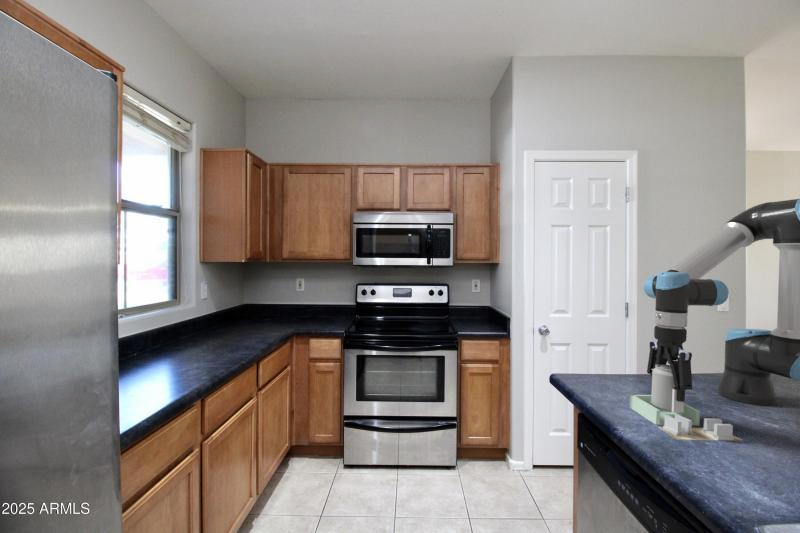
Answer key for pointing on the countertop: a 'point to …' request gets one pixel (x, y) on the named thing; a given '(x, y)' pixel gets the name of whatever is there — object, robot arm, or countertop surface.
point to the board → (696, 435)
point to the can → (662, 387)
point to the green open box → (658, 416)
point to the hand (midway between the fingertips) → (666, 406)
